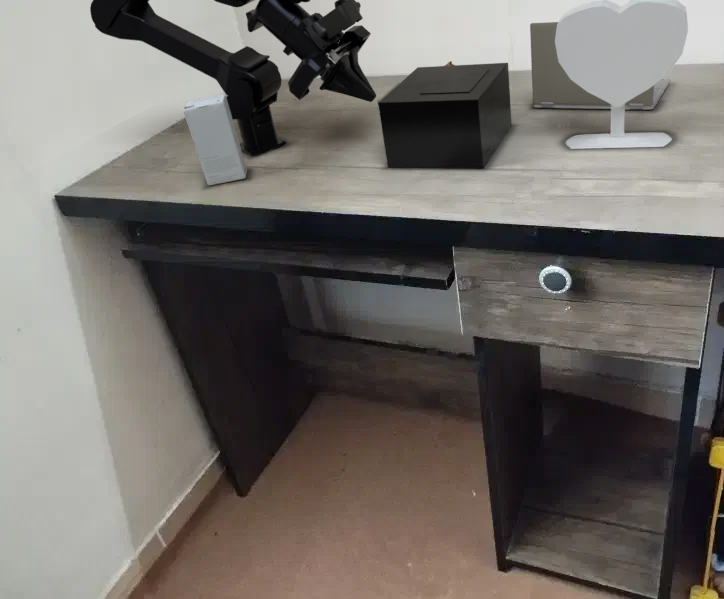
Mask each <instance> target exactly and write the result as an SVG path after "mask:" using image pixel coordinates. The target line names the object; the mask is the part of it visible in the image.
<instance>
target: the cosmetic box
mask: <svg viewBox="0 0 724 599" xmlns="http://www.w3.org/2000/svg"><path fill="white" fill-rule="evenodd" d="M182 112H183V114H184V117H185V120H186V123H187V126H188V129H189V133H190V135H191V138H192V142H193V144H194V148H195V150H196V154H197V157H198V160H199V163H200V166H201V169H202V172H203V176H204V178H205V182H206V185H207V186H215V185H220V184H224V183H229V182H234V181H239V180H244V179H246V178H247V172H248V168H247V164H246V162H245V158H244V154H243V151H242V150H241V147H240V144H241V143H240V140H239V136H238V133H237V129H236V127H235V122H234V119H232V115H231V112H230V109H229V105H228V101H227V94H221V95H215V96H210V97H204V98H201V99H196V100H195V99H194V100H190V101H187V102H186V103H185V106H184V108H183V111H182Z"/></svg>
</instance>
